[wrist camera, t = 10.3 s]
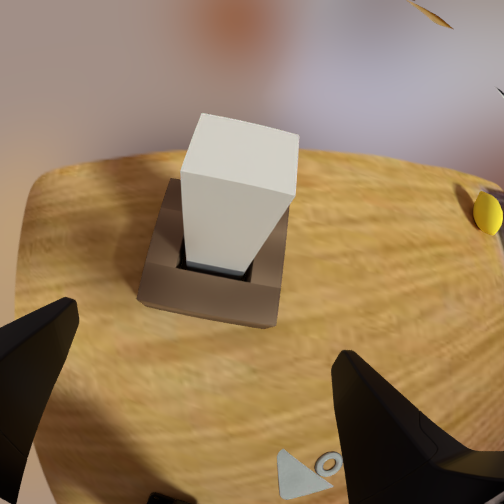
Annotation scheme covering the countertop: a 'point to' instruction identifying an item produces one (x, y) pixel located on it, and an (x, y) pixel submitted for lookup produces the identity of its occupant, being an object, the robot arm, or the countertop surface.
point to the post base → (207, 286)
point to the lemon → (487, 213)
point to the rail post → (234, 192)
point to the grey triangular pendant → (303, 475)
